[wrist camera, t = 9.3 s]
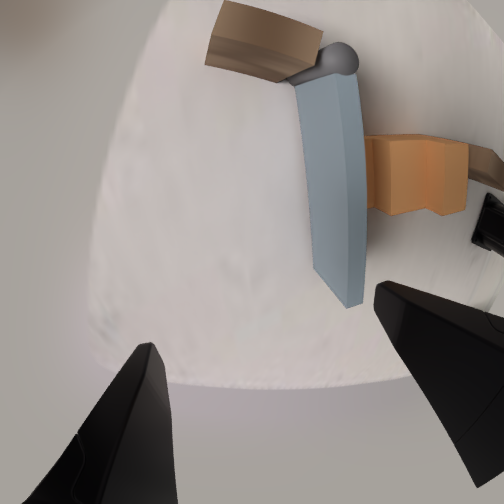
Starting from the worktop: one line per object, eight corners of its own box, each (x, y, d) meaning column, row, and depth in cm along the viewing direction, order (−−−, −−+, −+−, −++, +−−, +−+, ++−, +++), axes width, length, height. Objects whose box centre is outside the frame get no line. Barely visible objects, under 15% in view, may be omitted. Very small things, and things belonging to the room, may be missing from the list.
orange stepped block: (320, 207, 20) (362, 236, 15) (314, 140, 18) (359, 147, 13) (417, 189, 21) (465, 209, 16) (417, 134, 19) (468, 143, 14)
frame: (468, 159, 21) (513, 173, 16) (464, 176, 22) (508, 193, 16) (213, 38, 13) (224, -1, 8) (204, 64, 14) (211, 34, 9)
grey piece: (284, 63, 15) (323, 41, 10) (309, 63, 15) (355, 43, 10) (307, 267, 21) (342, 310, 16) (328, 261, 22) (366, 301, 17)
